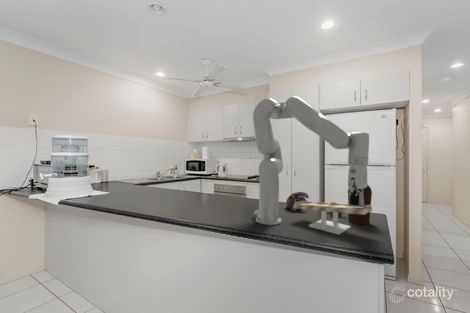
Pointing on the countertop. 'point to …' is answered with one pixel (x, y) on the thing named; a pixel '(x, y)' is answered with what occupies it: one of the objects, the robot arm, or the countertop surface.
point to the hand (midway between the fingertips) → (356, 203)
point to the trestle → (330, 224)
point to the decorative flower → (295, 200)
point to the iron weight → (360, 199)
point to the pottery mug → (338, 214)
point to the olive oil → (367, 201)
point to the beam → (333, 207)
